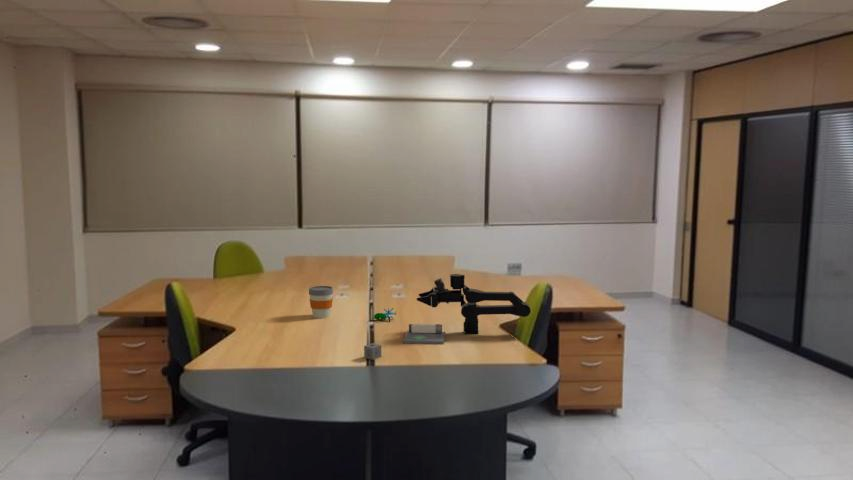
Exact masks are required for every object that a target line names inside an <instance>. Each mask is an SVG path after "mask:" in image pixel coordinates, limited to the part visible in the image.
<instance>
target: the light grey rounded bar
mask: <svg viewBox="0 0 853 480" xmlns="http://www.w3.org/2000/svg"><path fill="white" fill-rule="evenodd" d="M408 331H409V332H414V333H437V334H440V333H442V332H443V324H440V323H438V324H437V323H436V324H429V323H428V324H426V323H423V324H422V323H421V324H420V323H417V324H416V323H415V324H413V323H408Z"/></svg>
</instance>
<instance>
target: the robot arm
mask: <svg viewBox="0 0 853 480" xmlns="http://www.w3.org/2000/svg"><path fill="white" fill-rule="evenodd" d="M465 278H466V277H465V274H460V273H451V274H450V275H449V283H450V284H449V285H450V288H452V289H448V288H446V286H445V283H444V281H443V279H442V277H440V278H437V279H436V280H434V285H435V286H434V287H432V288H431V289H430V290H427V291H423V292H421V293H418V297H417V298H416V301H417V302H420V303H423V304H425V305H427V306H429V307H432V308H437V307H438V306H439V305H440V303H442V304H443V303H446V304H450V303H460V307H461V309H460V314H461V316H462V317H463V318H464V321H463V332H464V334H465V335H467V334H470V335H479V331H480V330H479V318H478V317H479V316H482V315H512V316H516V317H523V318H527V317H528V316H530V314H531V307H530V304H529V303H528V302H527V301H523V300H522V299H521V298H520V297H518V295H516V293H515V292H514V291H484V290H480V289H475V288H469V287H468V286H467V285H466V284H465ZM483 301H484V302H485V301H486V302H487V301H489V302H490V301H493V302H495V301H496V302H497V301H498V302H500V301H501V302H507V301H508V302H510V303H511V304H499V305H498V304H496V305H495V304H494V305H489V304H487V305H479V304H477V303H479V302H480V303H481V302H483Z"/></svg>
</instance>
